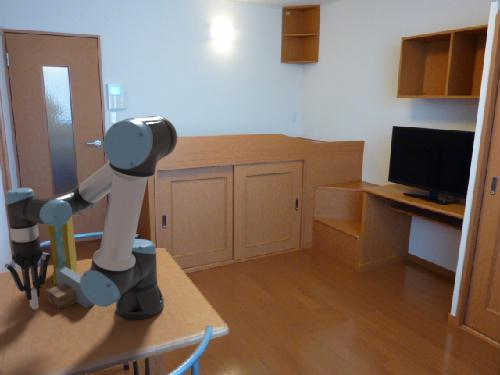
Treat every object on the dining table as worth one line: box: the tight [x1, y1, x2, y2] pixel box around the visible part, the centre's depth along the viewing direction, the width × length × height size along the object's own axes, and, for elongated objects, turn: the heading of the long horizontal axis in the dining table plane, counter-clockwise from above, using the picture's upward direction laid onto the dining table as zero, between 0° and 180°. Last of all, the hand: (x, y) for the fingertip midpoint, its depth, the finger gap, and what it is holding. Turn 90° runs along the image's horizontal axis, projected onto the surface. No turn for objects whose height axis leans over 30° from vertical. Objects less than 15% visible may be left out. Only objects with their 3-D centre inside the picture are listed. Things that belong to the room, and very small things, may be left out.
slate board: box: [55, 265, 95, 309], centre depth 138 cm, size 20×3×8 cm, turn 50°
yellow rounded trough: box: [46, 215, 78, 286], centre depth 153 cm, size 17×7×25 cm, turn 17°
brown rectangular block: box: [46, 283, 78, 310], centre depth 135 cm, size 8×6×4 cm
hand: (34, 307), depth 129 cm, fingers closed
